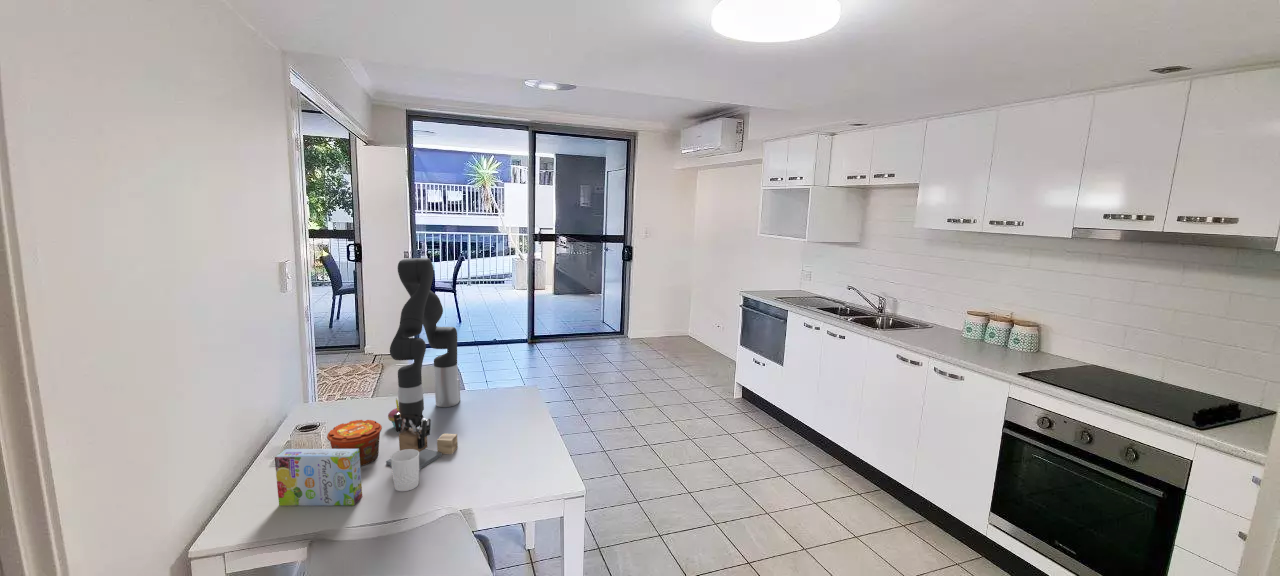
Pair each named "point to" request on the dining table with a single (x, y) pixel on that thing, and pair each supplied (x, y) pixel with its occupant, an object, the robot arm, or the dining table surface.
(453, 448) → the oak block
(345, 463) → the snack box
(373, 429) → the food container
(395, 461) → the white cup
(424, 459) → the slate coaster
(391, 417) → the cupcake
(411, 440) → the walnut block
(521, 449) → the dining table surface
